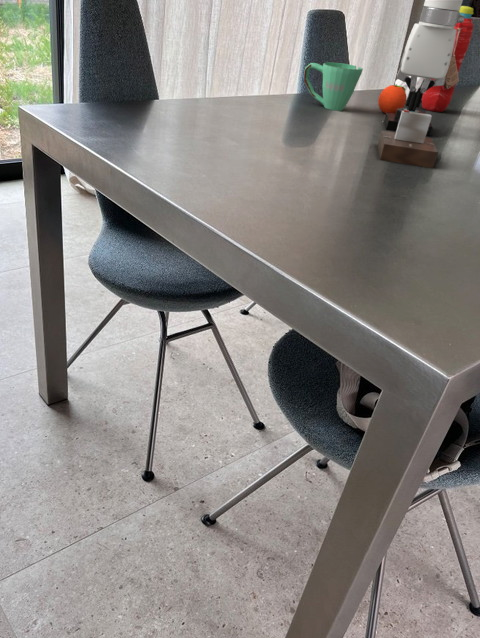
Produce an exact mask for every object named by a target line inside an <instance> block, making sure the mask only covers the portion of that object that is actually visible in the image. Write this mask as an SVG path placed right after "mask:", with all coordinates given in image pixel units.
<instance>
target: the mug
mask: <svg viewBox="0 0 480 638" xmlns="http://www.w3.org/2000/svg"><path fill="white" fill-rule="evenodd" d="M311 69H313V70H317V72H319V73H321V74H322V88H321V89H322V96H321V95H320V94H318V93H317V92H315V90H314V87H313V85H312V83H311V80H310V79H309V78H310V77H309V76H310V71H311ZM363 70H364V69H363V67H361V66H358V68H357V66H356V65H353V64H348V63H343V62H342V63H340V62H331V61H329V62H324V63H323V65H321V64H319V63H317V62H310V63H309V64H308V65H306V66H305V67H304V74H303V75H304V77H303V83H304V84H305V86H306V88H307V90H308V92H309V94H310V96H311V97H312V98H314V99H315V100H316V101H318V102H319V103H320V104H322V106H323V108H325V109H327V110H330V111H337V112H339V111H340V112H342V111H344V109H345V107H346V106H347V105H348V103H349V101H350V99H351V97H352V96H353V94H354V92H355V89H356V87H357V84H358V82H359V80H360V77H361V75H362V73H363Z"/></svg>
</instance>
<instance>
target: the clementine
mask: <svg viewBox="0 0 480 638" xmlns="http://www.w3.org/2000/svg"><path fill="white" fill-rule="evenodd" d="M406 101H407V100H406V93H405V88H404V87H402V86H398V85H397V84H396V85H395V84H390V85H388V86H386V87H385V88H384V89H383V90H381V92H380V94H379V96H378V100H377V104H378V107H379V109H380V111H381V112H382V113H384V114H385V115H386V113H394V114H396V111H397V109H399V108H405V106H406Z"/></svg>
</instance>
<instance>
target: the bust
mask: <svg viewBox="0 0 480 638" xmlns="http://www.w3.org/2000/svg"><path fill="white" fill-rule="evenodd" d="M407 76H408V77H411V76H409V75H407ZM423 79H424V78H422V77H417V82H416V91H418V88H420V86H421V83H422V81H423ZM396 84H397V85H398V86H402V87H404V88H405V93H406V101H407V98H408V94H409V91H410V89H409V88H408V86H407V84H406V82H403V81H401V80H399V79H397V78H396V80H395V81H394V85H396ZM421 102H422V99H421Z"/></svg>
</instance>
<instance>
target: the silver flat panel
mask: <svg viewBox="0 0 480 638" xmlns="http://www.w3.org/2000/svg"><path fill="white" fill-rule="evenodd" d="M431 120H432V114H428V113H425V114H422V113H415V112H409V110H403V111H402V113H401V116H400V120H399V123H398V127H397V130H396V131H395V133H396V134H395V139H396V140H403V141H409V142H416V143H422V144H423V143H424V140H425V137H427V136H426V134H427V131H428V127H429V124H430V123H431Z"/></svg>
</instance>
